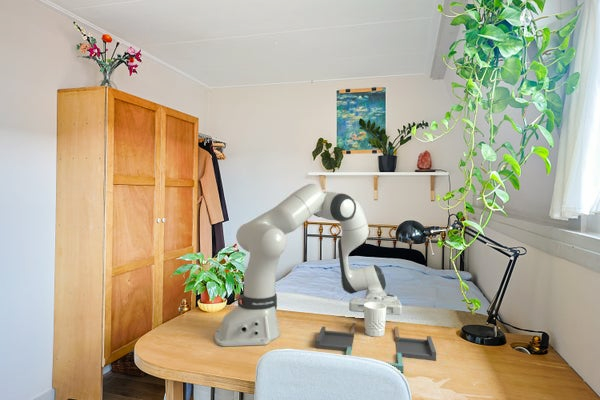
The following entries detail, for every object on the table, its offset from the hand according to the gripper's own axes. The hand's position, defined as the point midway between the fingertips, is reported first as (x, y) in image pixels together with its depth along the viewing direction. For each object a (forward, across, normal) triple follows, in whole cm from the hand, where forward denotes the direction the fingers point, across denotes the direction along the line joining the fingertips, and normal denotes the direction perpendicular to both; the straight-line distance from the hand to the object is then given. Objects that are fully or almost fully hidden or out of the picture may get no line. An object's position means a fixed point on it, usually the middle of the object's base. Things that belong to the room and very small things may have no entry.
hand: (374, 312), depth 136 cm
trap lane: (+18, 0, +5) cm, 19 cm away
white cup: (+7, 0, +5) cm, 9 cm away
